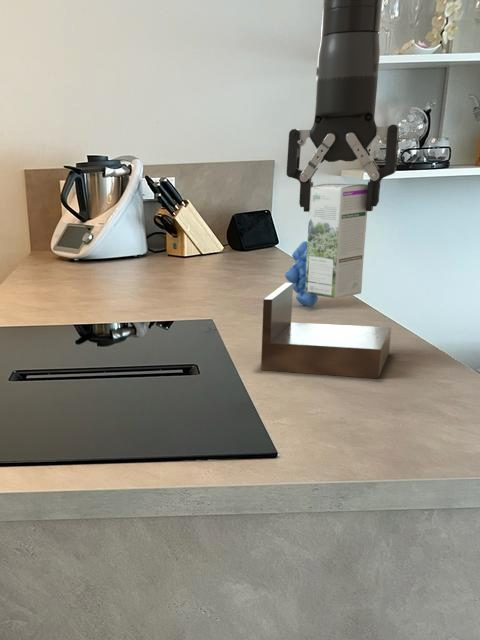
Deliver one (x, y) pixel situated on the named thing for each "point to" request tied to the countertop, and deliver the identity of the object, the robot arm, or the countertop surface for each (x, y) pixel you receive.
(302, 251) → the grapes
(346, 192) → the syrup box
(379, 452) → the countertop surface
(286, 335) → the metal l-shaped bookend
